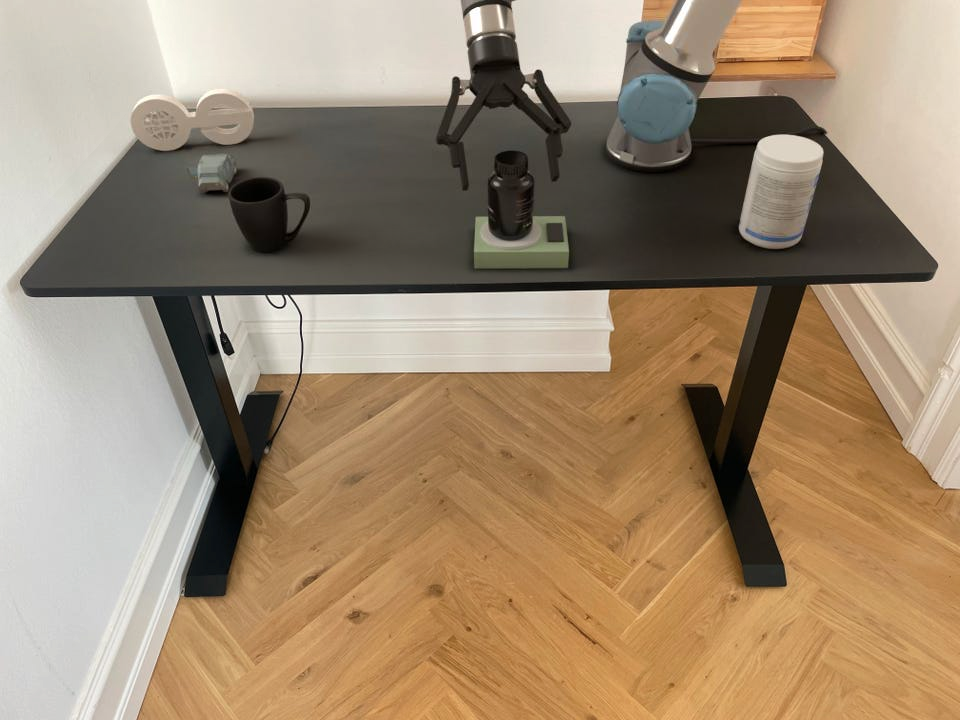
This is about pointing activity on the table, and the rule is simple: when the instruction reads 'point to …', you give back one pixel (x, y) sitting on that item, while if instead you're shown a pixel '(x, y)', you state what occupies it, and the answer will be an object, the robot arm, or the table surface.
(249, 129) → the white double disc plate
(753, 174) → the supplement tub
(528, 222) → the supplement bottle
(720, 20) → the robot arm
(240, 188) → the mug
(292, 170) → the table surface
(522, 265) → the scale
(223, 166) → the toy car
